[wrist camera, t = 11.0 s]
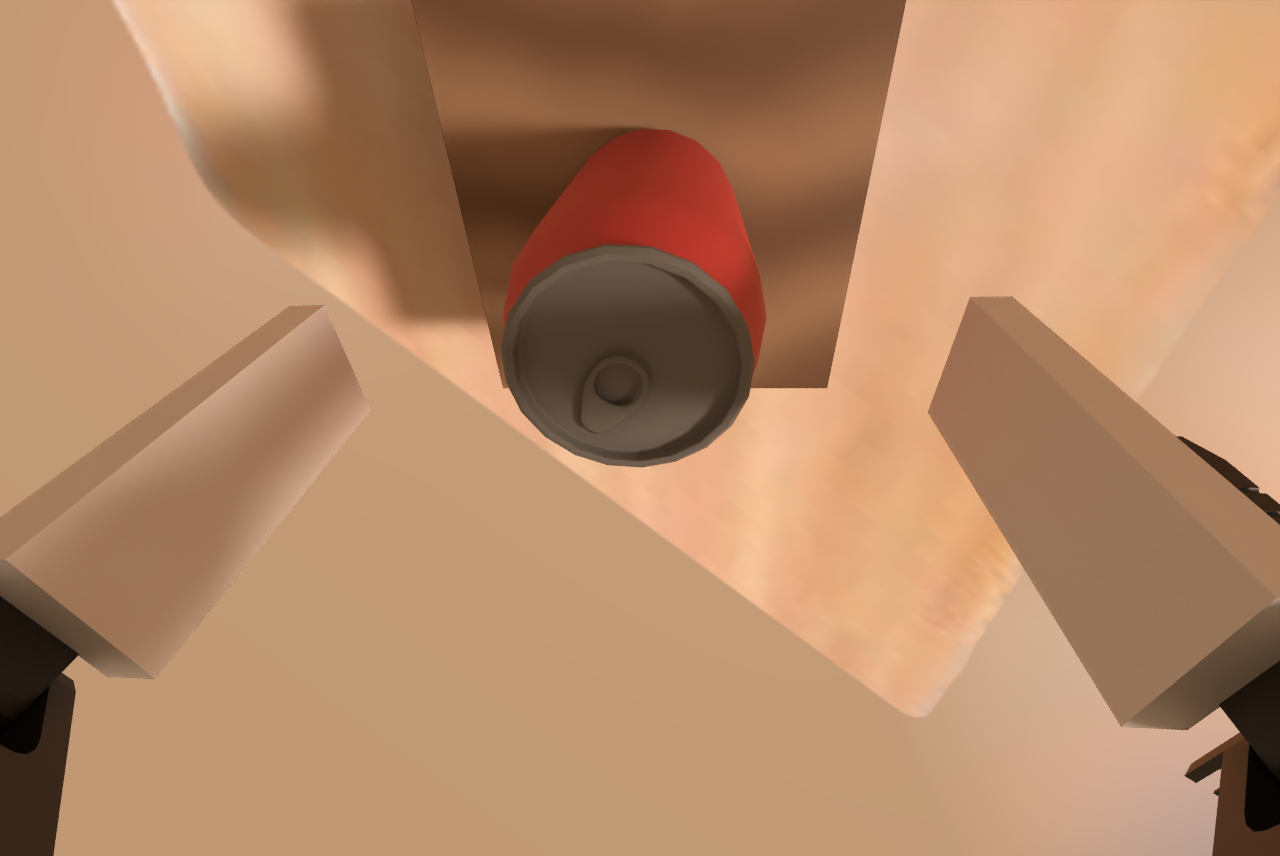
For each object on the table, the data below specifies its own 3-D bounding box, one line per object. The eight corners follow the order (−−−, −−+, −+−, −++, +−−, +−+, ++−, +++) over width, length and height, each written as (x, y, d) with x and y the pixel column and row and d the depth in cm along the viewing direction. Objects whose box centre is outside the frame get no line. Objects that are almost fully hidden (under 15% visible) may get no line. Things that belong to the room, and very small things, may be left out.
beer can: (546, 249, 22) (440, 415, 12) (617, 86, 18) (544, 144, 9) (680, 322, 24) (677, 519, 14) (770, 186, 20) (848, 326, 10)
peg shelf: (477, -15, 23) (403, -31, 17) (854, -38, 22) (919, -66, 16) (536, 322, 32) (502, 387, 26) (799, 320, 31) (827, 388, 25)
